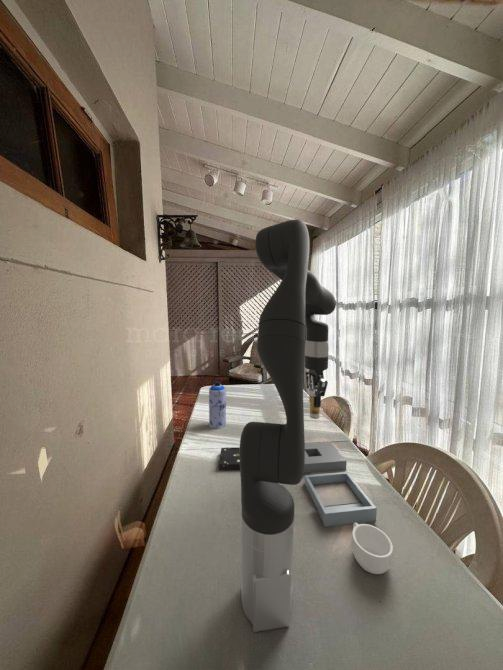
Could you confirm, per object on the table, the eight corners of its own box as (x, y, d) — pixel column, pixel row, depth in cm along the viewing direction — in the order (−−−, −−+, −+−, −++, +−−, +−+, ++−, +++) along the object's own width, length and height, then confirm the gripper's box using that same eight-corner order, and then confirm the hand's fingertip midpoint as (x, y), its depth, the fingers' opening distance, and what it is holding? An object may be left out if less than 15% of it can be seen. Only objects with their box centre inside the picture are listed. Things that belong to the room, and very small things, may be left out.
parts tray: (376, 520, 65) (376, 508, 65) (324, 526, 64) (325, 513, 63) (346, 482, 80) (347, 471, 79) (304, 486, 78) (304, 475, 78)
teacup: (400, 577, 52) (402, 553, 51) (366, 586, 50) (368, 561, 50) (367, 534, 62) (369, 513, 61) (338, 540, 60) (339, 519, 59)
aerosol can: (219, 430, 113) (218, 385, 111) (205, 426, 117) (204, 382, 115) (229, 423, 120) (229, 381, 118) (216, 419, 124) (216, 378, 122)
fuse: (320, 418, 86) (321, 392, 85) (311, 419, 86) (312, 392, 85) (317, 414, 89) (318, 389, 88) (308, 415, 89) (308, 389, 88)
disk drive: (218, 472, 85) (263, 471, 86) (218, 464, 85) (263, 463, 86) (221, 454, 96) (261, 453, 96) (220, 447, 95) (261, 446, 96)
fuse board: (346, 472, 85) (346, 460, 84) (292, 476, 82) (292, 465, 82) (329, 452, 97) (330, 441, 96) (282, 455, 94) (282, 445, 94)
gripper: (337, 358, 79) (334, 412, 81) (318, 350, 93) (317, 397, 95) (313, 358, 78) (311, 414, 80) (298, 350, 92) (297, 398, 94)
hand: (314, 404), depth 87 cm, fingers closed on fuse, 3 cm apart
